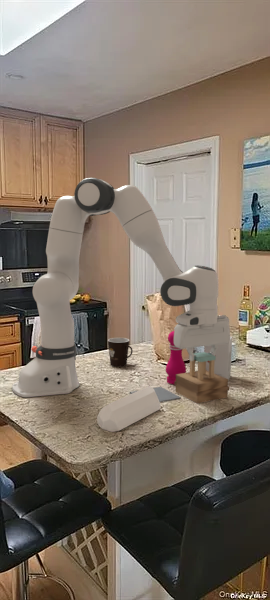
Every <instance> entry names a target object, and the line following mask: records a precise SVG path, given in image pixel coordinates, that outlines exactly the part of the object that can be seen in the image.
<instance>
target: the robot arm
mask: <svg viewBox="0 0 270 600" xmlns="http://www.w3.org/2000/svg"><path fill="white" fill-rule="evenodd" d="M109 213H112V214H114V215H115V217H116V218H117V220H118V222H119V224H120V226H121V227H122V230H123V231H124V232H125V234H126V236H127V237H128V239H129V240H130V241H131V242H132V243H133V245H135V246H136V247H138V248H139V249H141V250H143V251H144V252H145V253H146V254H147V255H149V257H150V258H151V260H152V261H153V263H154V265H155V267H156V269H157V270H158V272H159V274H160V275H161V277H162V279H163V283H162V284H161V287H160V297H161V299H162V301H163V302H164V303H165V304H166V305H168V306H171V307H181V306H186V305H189V310H187V311H185V312H183V313H181V314H179V315H177V316H176V317H175V322H176V323H177V324H176V325H175V327H174V328H175V330H174V329H173V331H174V345H175V346H176V347H177V348H179V349H182V350H186V351H187V353H188V358H189V362H190V361H195V362H197V361H196V355H194V352H193V351H194V350H195V348H200V347H204V346H209V345H211V347H212V348H211V351H210V352H208V354H211V355H214V356H215V353H216V351H217V349H218V344H225V343H228V342H229V341H230V337H231V328H230V319H229V317H228V316H227V315H225V314H222V315H218V312H219V311H218V310H219V309H218V308H219V307H218V302H217V301H218V296H219V277H218V273H217V271H216V270H215V269H214V268H212V267H209V266H205V265H193V266H192V267H191V268H189V269H188V270H185V271H183V270H181V269H180V267H179V266H178V264H177V262H176V260H175V259H174V257H173V255H172V254H171V252H170V250H169V248H168V246H167V245H166V242H165V239H164V235H163V233H162V228H161V225H160V222H159V221H158V218H157V216H156V213H155V212H154V210H153V208H152V207H151V204H150V203H149V201H148V200H147V199H146V197H145V196H144V194H143V193H142V192H141V190H140V189H139V188H138V187H137V186H135V185H134V184H126V185H123V186H120V187H119V188H116V189H115V188H114V186H113V185H112V184H110V183H108V182H107V181H105V180H104V179H101V178H97V177H87V178H84V179H81V180H80V181H79V182H78V183H77V185H76V187H75V189H74V195H72V196H71V195H64V196H61V197H59V198H58V199H57V200H56V202H55V204H54V207H53V211H52V214H51V217H50V218H51V219H50V222H49V228H48V234H47V240H46V241H47V242H46V248H45V254H46V258H47V273H45V274H43V275H41V276H40V277H39V278H38V279H37V280H36V281H35V283H34V285H33V287H32V297H33V299H34V301H35V302H36V306H37V311H38V315H39V316H38V317H39V320H40V341H41V343H40V345H39V346H38V347H37V346H36V345H33V346H32V347H31V352H33V353H35V357H33V359H32V360H31V361H29V362H28V363H27V364H26V365H24V366H23V367H22V368H21V369H20V371H19V374H18V381H16V382H14V383H12V385H11V390H12V392H13V393H14V394H15V395H17V396H19V397H23V398H31V397H33V398H34V397H40V396H41V397H43V396H53V395H55V396H56V395H64V394H70V393H72V392H73V390H75V389H77V388H78V387H80V385H81V384H80V382H79V381H80V380H79V378H78V372H77V368H76V360H77V358H76V357H77V347H76V344H75V321H74V319H73V315H72V310H71V303H70V301H72V300H73V299H74V298H75V297H76V296H77V294H78V291H79V286H80V283H79V278H80V256H81V255H80V253H81V249H82V248H81V247H82V241H83V237H84V235H83V234H84V229H85V224H86V221H87V219H88V217H93V216H94V217H95V216H101V215H102V216H103V215H106V214H109Z"/></svg>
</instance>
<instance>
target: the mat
mask: <svg viewBox="0 0 270 600" xmlns="http://www.w3.org/2000/svg"><path fill="white" fill-rule="evenodd" d="M152 388H153V389H154V390H155V393H156V395H157V397H158V400H159V402H160V403H164V402H169V401H175V400H180V399H181V398H182V397H181V396H179V395H177V393H176V394H175V393H173V392H171V391H170V390H168V389H166V388H164V387H163V386H157V387H152ZM139 390H140V389H139ZM139 390H133V391H129V395H130V394H132V393H134V392H136V391H139Z"/></svg>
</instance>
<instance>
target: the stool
mask: <svg viewBox="0 0 270 600" xmlns="http://www.w3.org/2000/svg"><path fill="white" fill-rule="evenodd" d="M193 354H194V355H196V361H190V360H189V372H190V376H191V377H193V376H195V371H196V362H197V371H198V380H203V375H205V374H206V361H209V378H214V362H215V359H216V356H214V355H211V354H208V353H205V352H204V351H202V352H193Z"/></svg>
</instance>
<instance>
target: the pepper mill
mask: <svg viewBox="0 0 270 600" xmlns="http://www.w3.org/2000/svg"><path fill="white" fill-rule="evenodd" d="M174 330H175V327H174V328H173V330H172V331H170V332H169V334H168V336H167V340H168V343H169V344H168V345H169V347H168V348H169V349H170V355H169V359H168V361H167V364H166V366H165V373H166V374H167V377H166V382H167V383H168V384H170V385H174V386H176V385H175V381H176V374H182V373H187V367H186V363H185V362H184V358H183V353H182V352H183V349H179V348H177V347H176V346H175V345H174Z"/></svg>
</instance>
